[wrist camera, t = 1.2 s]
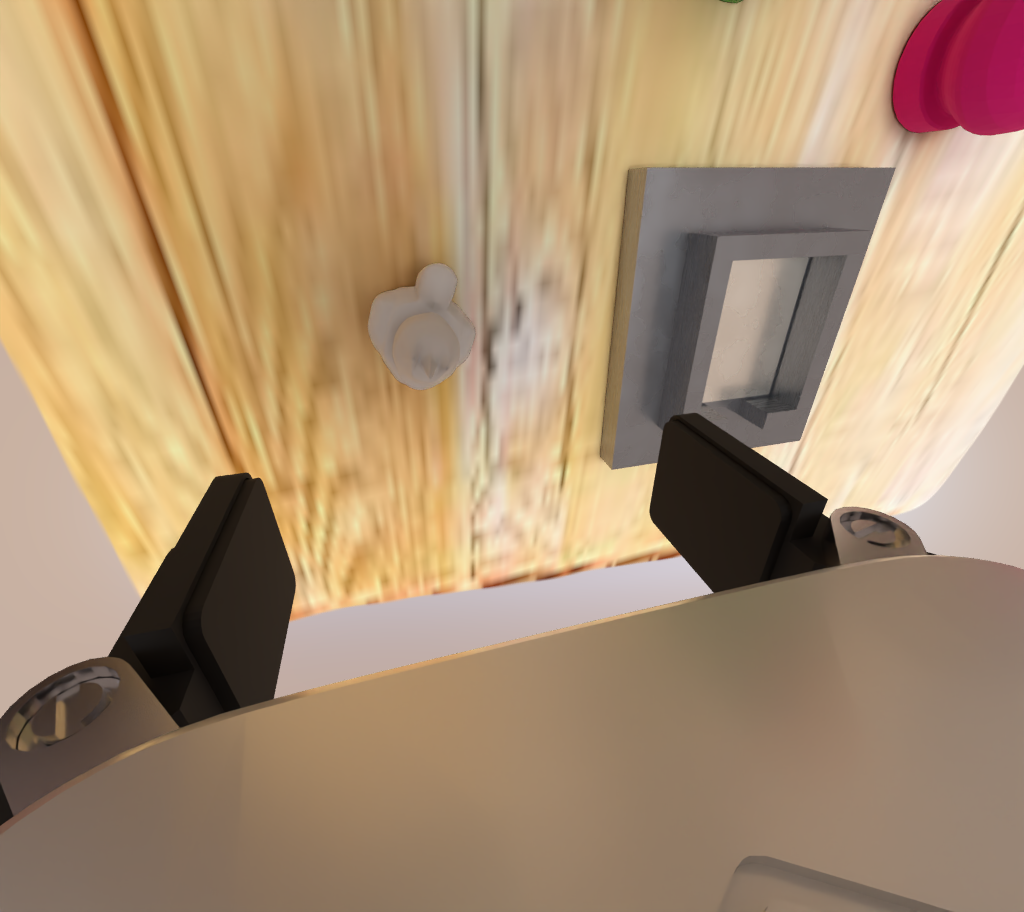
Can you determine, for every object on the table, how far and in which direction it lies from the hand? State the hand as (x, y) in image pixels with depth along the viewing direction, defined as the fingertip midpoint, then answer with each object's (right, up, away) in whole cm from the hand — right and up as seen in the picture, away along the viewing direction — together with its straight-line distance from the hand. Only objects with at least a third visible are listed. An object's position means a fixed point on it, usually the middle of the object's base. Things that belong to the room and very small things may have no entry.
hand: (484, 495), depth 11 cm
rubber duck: (-5, +9, +15) cm, 18 cm away
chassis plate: (+15, +10, +20) cm, 27 cm away
